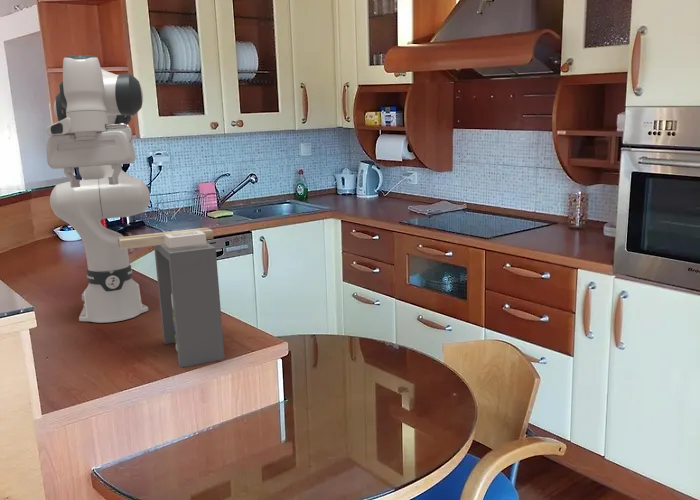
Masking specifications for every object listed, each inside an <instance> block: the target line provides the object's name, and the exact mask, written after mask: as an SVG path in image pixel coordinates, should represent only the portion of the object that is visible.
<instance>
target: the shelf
mask: <svg viewBox="0 0 700 500" xmlns="http://www.w3.org/2000/svg"><path fill="white" fill-rule="evenodd" d="M206 244H207V247H204V248H196V249H188V250H179V251H171V252H170V251H169V250H168V249H167V248H165V244H164V245H155V246H153V248H154V259H155V266H156V267H155V268H156V277H157V288H158V298H159V307H160V308H159V309H160V317H161V319H160V321H161V329H162V338H163V340H162V341H163V343H164V345H167V344H168V345H169V344H175V335H174V323H173V311H172V299H173V309H174V320H175V330H176V340H177V351H176V352H177V360H178V361H177V362H178V366H179V367H180V368H186V367H192V366H197V365H202V364H206V363H212V362H216V361H222V360H226V357H225V347H224V334H223V323H222V322H223V321H222V310H221V299H220V298H221V297H220V295H221V294H220V286H219V285H220V284H219V273H218V270H219V269H218V259H217V249H216V247H215V246H214V245H212V244H211V243H209V242H207V241H206ZM171 294H172V299H171Z"/></svg>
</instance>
